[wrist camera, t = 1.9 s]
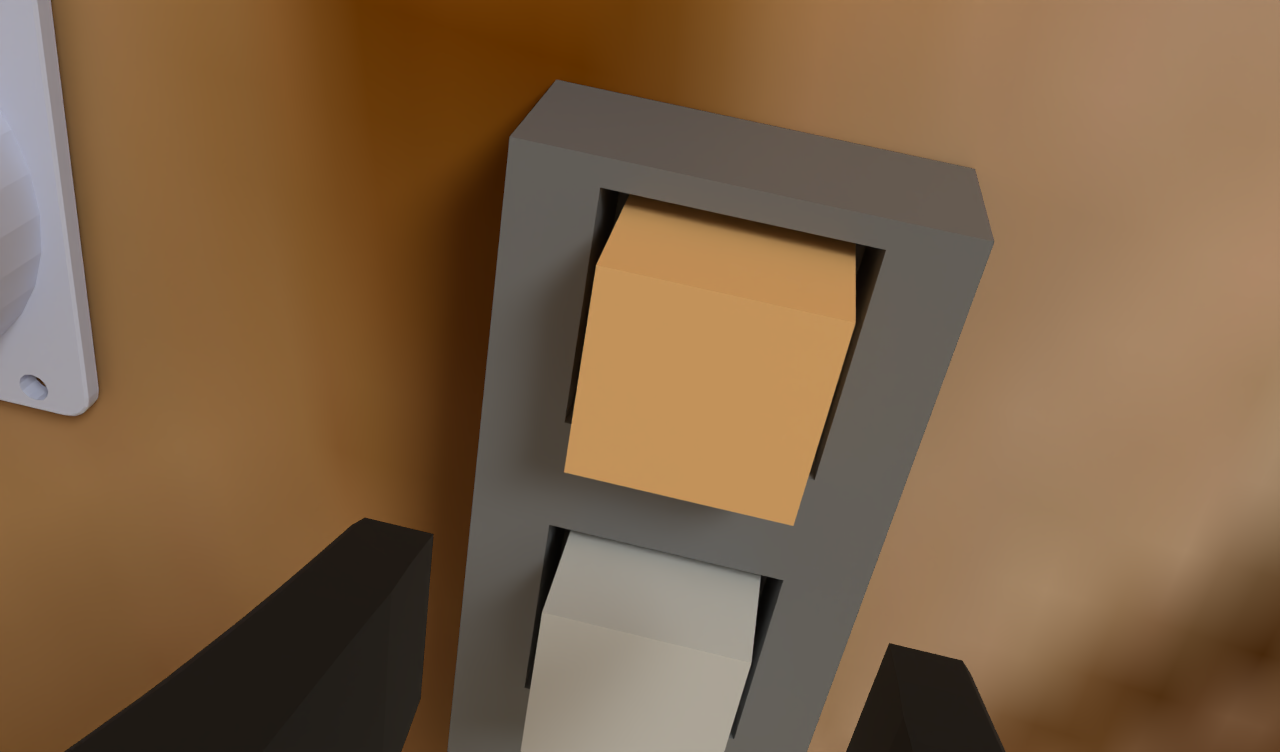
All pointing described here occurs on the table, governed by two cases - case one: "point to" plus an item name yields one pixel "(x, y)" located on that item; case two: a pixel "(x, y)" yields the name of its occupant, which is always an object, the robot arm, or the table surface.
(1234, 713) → the table surface
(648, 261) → the orange key
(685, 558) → the grey key
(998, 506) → the table surface
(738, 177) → the grey button panel
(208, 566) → the table surface
